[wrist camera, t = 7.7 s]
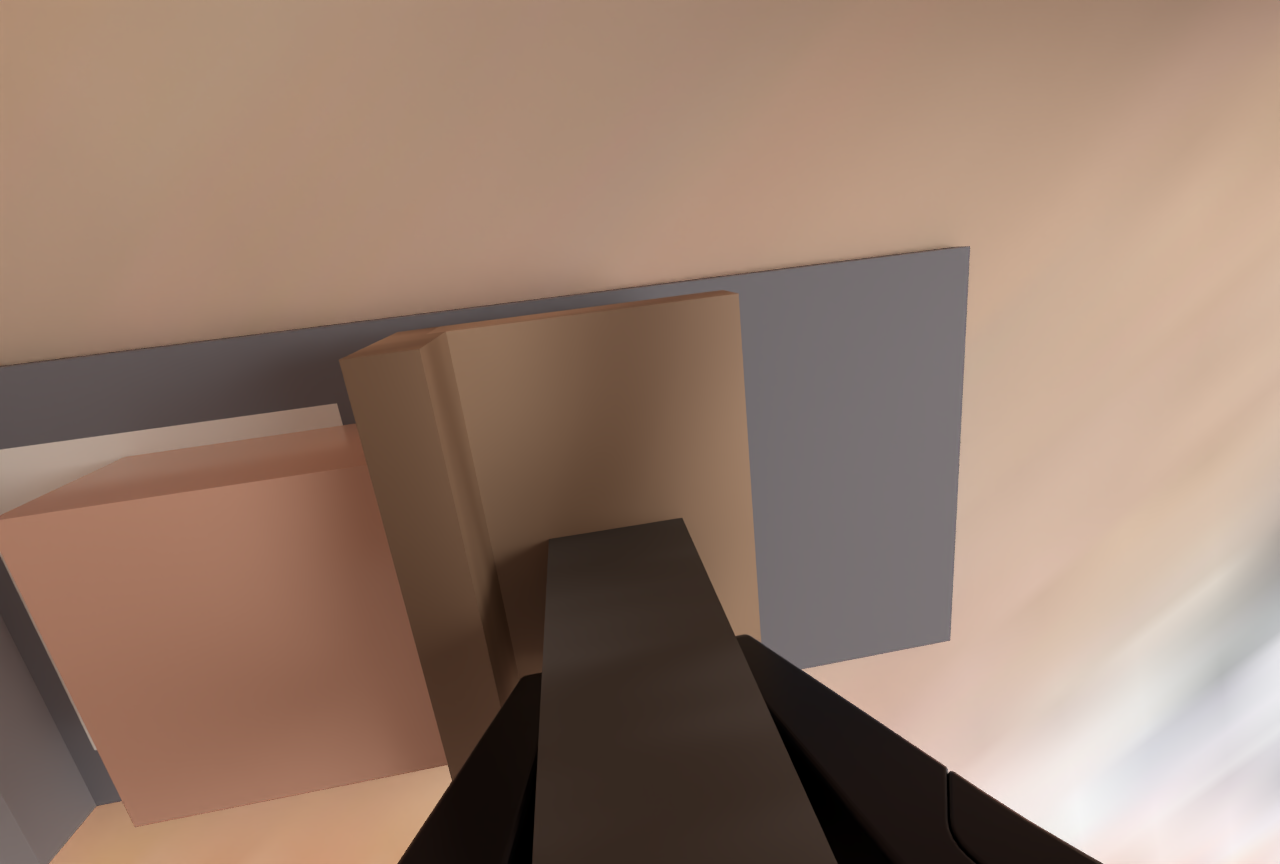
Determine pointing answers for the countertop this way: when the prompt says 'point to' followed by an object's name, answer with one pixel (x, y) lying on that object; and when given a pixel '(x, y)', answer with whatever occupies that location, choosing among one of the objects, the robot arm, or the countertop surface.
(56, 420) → the gray ledged slab
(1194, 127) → the countertop surface
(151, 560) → the tile
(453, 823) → the robot arm
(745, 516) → the beige ledged slab
